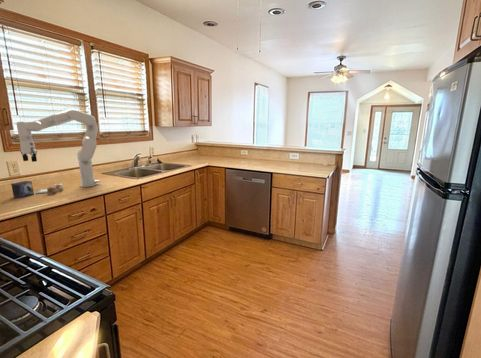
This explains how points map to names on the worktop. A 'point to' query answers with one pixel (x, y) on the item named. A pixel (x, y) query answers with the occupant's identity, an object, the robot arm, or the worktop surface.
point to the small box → (22, 189)
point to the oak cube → (59, 187)
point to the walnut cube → (51, 190)
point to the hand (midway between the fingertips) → (30, 161)
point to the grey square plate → (41, 191)
